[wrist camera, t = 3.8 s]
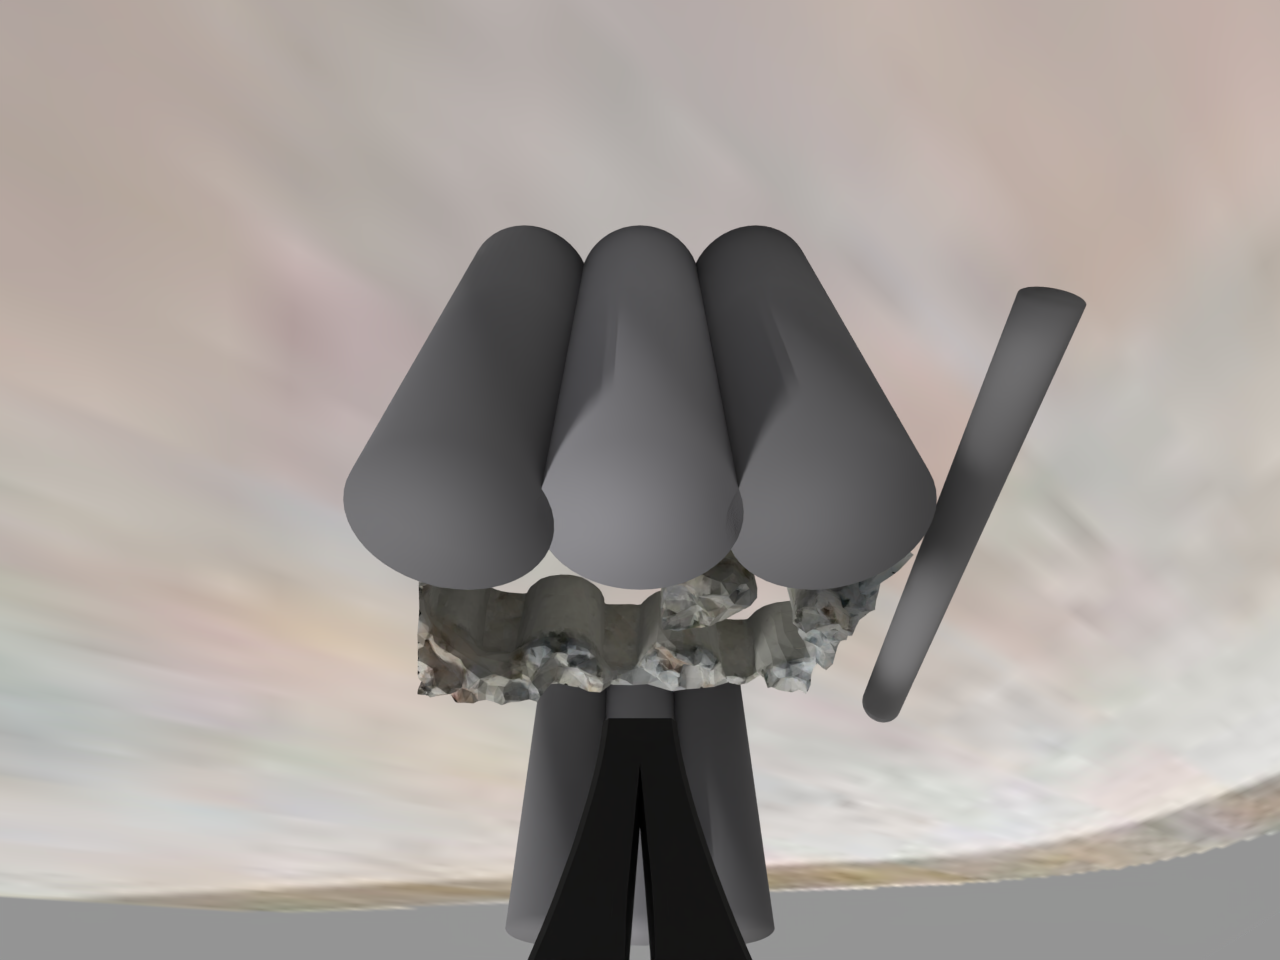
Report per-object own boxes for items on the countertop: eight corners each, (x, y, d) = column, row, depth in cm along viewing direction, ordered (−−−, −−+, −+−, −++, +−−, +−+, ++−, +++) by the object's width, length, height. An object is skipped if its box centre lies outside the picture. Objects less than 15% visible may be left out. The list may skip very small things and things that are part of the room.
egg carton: (435, 577, 19) (391, 702, 16) (449, 351, 14) (391, 461, 11) (777, 633, 20) (802, 758, 17) (890, 444, 16) (952, 567, 12)
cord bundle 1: (536, 666, 21) (499, 913, 15) (743, 666, 21) (780, 913, 15) (543, 707, 22) (511, 945, 17) (736, 707, 22) (768, 945, 17)
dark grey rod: (1006, 286, 13) (1035, 311, 12) (1065, 286, 13) (1099, 311, 12) (854, 697, 22) (864, 729, 21) (889, 697, 22) (900, 729, 21)
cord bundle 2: (461, 224, 12) (315, 435, 7) (818, 225, 12) (965, 435, 7) (481, 340, 14) (375, 589, 8) (799, 340, 14) (906, 590, 8)
